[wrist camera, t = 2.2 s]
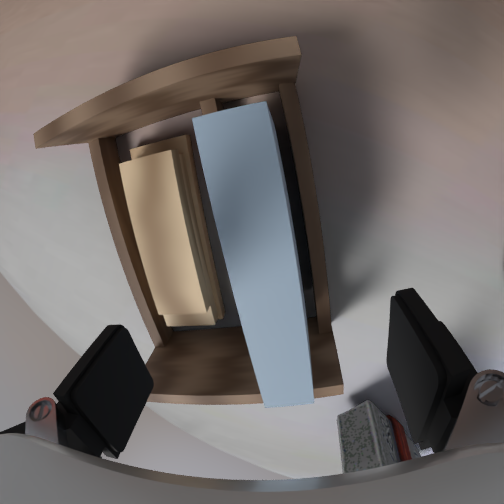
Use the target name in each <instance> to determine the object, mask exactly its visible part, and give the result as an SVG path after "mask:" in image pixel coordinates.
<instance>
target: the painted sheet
mask: <svg viewBox="0 0 504 504" xmlns="http://www.w3.org/2000/svg"><path fill="white" fill-rule="evenodd" d="M192 121H193V126H194V131H195V135H196V140H197V145H198V149H199V154H200V158H201V163H202V167H203V172H204V176H205V180H206V185H207V189H208V193H209V198H210V202H211V206H212V210H213V214H214V219H215V223H216V227H217V231H218V235H219V239H220V243H221V247H222V251H223V255H224V259H225V263H226V267H227V271H228V275H229V279H230V283H231V287H232V291H233V294H234V298H235V302H236V306H237V310H238V313H239V317H240V321H241V325H242V328H243V332H244V336H245V339H246V343H247V347H248V350H249V354H250V357H251V361H252V365H253V368H254V372H255V375H256V379H257V382H258V386H259V389H260V393H261V396H262V399H263V403H264V406H265V408H270V407H283V406H294V405H303V404H312V403H314V392H313V379H312V367H311V356H310V346H309V336H308V326H307V317H306V308H305V299H304V291H303V284H302V277H301V270H300V263H299V257H298V250H297V244H296V238H295V232H294V226H293V220H292V214H291V208H290V202H289V197H288V191H287V186H286V180H285V175H284V170H283V164H282V159H281V154H280V149H279V144H278V139H277V134H276V129H275V125H274V122H273V119H272V116H271V114H270V111H269V108H268V105H267V102H266V101H264V102H259V103H254V104H249V105H244V106H240V107H235V108H231V109H226V110H222V111H218V112H214V113H210V114H206V115H203V116H199V117H195V118H192Z"/></svg>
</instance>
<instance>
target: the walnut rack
mask: <svg viewBox="0 0 504 504" xmlns="http://www.w3.org/2000/svg"><path fill="white" fill-rule="evenodd" d="M300 59H301V51H300V47H299V44H298V40H297V37H296V36H292V37H285V38H278V39H272V40H266V41H260V42H255V43H250V44H245V45H240V46H236V47H231V48H227V49H223V50H219V51H215V52H212V53H208V54H204V55H201V56H198V57H194V58H191V59H188V60H185V61H181V62H178V63H175V64H173V65H170V66H167V67H164V68H161V69H159V70H156V71H153V72H151V73H148V74H146V75H143V76H141V77H138V78H136V79H133V80H131V81H129V82H126V83H124V84H122V85H120V86H118V87H115V88H113V89H111V90H109V91H107V92H105V93H103V94H101V95H99V96H97V97H95V98H93V99H91V100H89V101H87V102H85V103H83V104H82V105H80V106H78V107H76V108H74V109H73V110H71V111H69V112H67V113H66V114H64V115H62V116H61V117H59V118H57V119H56V120H54V121H52V122H51V123H49V124H48V125H46V126H44V127H43V128H41V129H40V130H38V131H37V132H35V133H34V141H35V147H36V149H37V148H44V147H52V146H60V145H69V144H80V143H89V148H90V153H91V158H92V162H93V167H94V171H95V175H96V179H97V184H98V188H99V191H100V195H101V199H102V203H103V206H104V210H105V214H106V217H107V220H108V224H109V227H110V230H111V234H112V237H113V240H114V243H115V246H116V249H117V252H118V255H119V258H120V261H121V264H122V267H123V270H124V272H125V275H126V278H127V281H128V283H129V286H130V289H131V291H132V294H133V296H134V299H135V301H136V304H137V306H138V309H139V311H140V314H141V316H142V318H143V321H144V323H145V325H146V328H147V330H148V332H149V335H150V337H151V339H152V341H153V343H154V346H155V349H154V351H153V352H152V354H151V356H150V358H149V359H148V361H147V363H146V367H147V369H148V371H149V373H150V375H151V377H152V378H153V381H154V387H153V389H152V391H151V393H150V396H149V398H148V400H147V402H159V403H174V404H203V405H228V404H257V403H263V399H262V396H261V393H260V389H259V386H258V382H257V379H256V375H255V372H254V368H253V365H252V361H251V357H250V354H249V350H248V347H247V343H246V339H245V336H244V332H243V328H242V326H237V327H227V328H215V329H203V330H189V331H173V329H172V327H171V326H167V325H166V322H165V319H164V316H163V315H159V314H158V311H157V308H156V305H155V302H154V299H153V296H152V293H151V290H150V287H149V283H148V280H147V277H146V273H145V270H144V267H143V263H142V260H141V256H140V253H139V249H138V246H137V242H136V238H135V234H134V230H133V226H132V222H131V218H130V214H129V210H128V206H127V201H126V197H125V192H124V187H123V183H122V178H121V173H120V167H119V164H120V159H119V154H118V150H117V145H116V140H115V138H116V137H118V136H121V135H123V134H126V133H128V132H131V131H133V130H136V129H139V128H142V127H144V126H147V125H150V124H153V123H156V122H159V121H162V120H165V119H168V118H171V117H174V116H177V115H181V114H184V113H187V112H191V111H194V110H198V109H201V110H202V115H206V114H210V113H214V112H218V111H222V110H224V109H223V104H222V103H225V102H229V101H233V100H238V99H242V98H247V97H252V96H257V95H262V94H267V93H273V92H279V93H280V97H281V102H282V106H283V111H284V115H285V120H286V125H287V130H288V135H289V139H290V145H291V150H292V155H293V160H294V165H295V171H296V176H297V182H298V188H299V194H300V200H301V206H302V212H303V218H304V224H305V231H306V238H307V244H308V251H309V259H310V266H311V274H312V281H313V289H314V298H315V306H316V316H317V317H311V318H307V326H308V336H309V346H310V356H311V367H312V379H313V392H314V398H321V397H328V396H334V395H341V394H343V386H344V384H343V379H342V374H341V369H340V364H339V359H338V354H337V349H336V345H335V340H334V335H333V331H332V326H331V315H330V303H329V292H328V281H327V272H326V263H325V254H324V246H323V238H322V230H321V222H320V215H319V208H318V202H317V195H316V189H315V183H314V177H313V171H312V165H311V159H310V154H309V148H308V143H307V138H306V133H305V128H304V123H303V118H302V113H301V109H300V104H299V100H298V95H297V91H296V86H295V83H296V78H297V73H298V69H299V64H300Z"/></svg>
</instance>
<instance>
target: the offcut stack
mask: <svg viewBox="0 0 504 504" xmlns="http://www.w3.org/2000/svg"><path fill="white" fill-rule="evenodd" d="M130 153H131V159H132V160H130V161H127V162H123V163H120V164H119V167H120V173H121V178H122V183H123V187H124V192H125V197H126V201H127V206H128V210H129V214H130V218H131V222H132V226H133V230H134V234H135V238H136V242H137V246H138V249H139V253H140V256H141V260H142V263H143V267H144V270H145V273H146V277H147V280H148V283H149V287H150V290H151V293H152V296H153V299H154V302H155V305H156V308H157V311H158V314H159V315H163V316H164V319H165V322H166V325H167V326H200V325H215V324H216V322H217V319H223V318H224V315H225V309H224V304H223V300H222V296H221V291H220V287H219V282H218V278H217V273H216V269H215V264H214V259H213V255H212V250H211V245H210V240H209V235H208V231H207V226H206V221H205V216H204V210H203V205H202V200H201V195H200V190H199V184H198V179H197V173H196V168H195V162H194V157H193V151H192V145H191V139H190V135H182V136H178V137H174V138H170V139H166V140H162V141H158V142H155V143H151V144H147V145H144V146H140V147H137V148H134V149H130Z"/></svg>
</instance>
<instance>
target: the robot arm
mask: <svg viewBox="0 0 504 504" xmlns="http://www.w3.org/2000/svg"><path fill="white" fill-rule="evenodd" d="M387 367H388V370H389V372H390V375H391V378H392V380H393V383H394V386H395V388H396V391H397V394H398V397H399V400H400V403H401V406H402V408H403V411H404V414H405V417H406V420H407V424H408V427H409V430H410V433H411V436H412V439H413V442H414V443H418V442H419V445H420V448H421V450H423V449H427V448H429V447H432V450H433V452H434V454H430V455H426V456H423V457H419V458H415V459H411V460H407V461H403V462H399V463H395V464H391V465H387V466H382V467H378V468H373V469H368V470H362V471H357V472H351V473H344V474H338V475H330V476H323V477H313V478H302V479H287V480H227V479H212V478H201V477H192V476H184V475H176V474H169V473H164V472H158V471H153V470H147V469H142V468H138V467H133V466H129V465H125V464H121V463H117V462H113V461H109V460H106V459H102V457H101V454H102V452H103V453H104V454H105V455H106V456H108V457H112V458H115V459H118V457H119V454H120V452H122V451H123V450H124V449H125V447H126V444H127V442H128V440H129V438H130V436H131V434H132V431H133V429H134V427H135V425H136V423H137V421H138V419H139V417H140V414H141V412H142V410H143V408H144V406H145V404H146V402H147V400H148V398H149V396H150V393H151V391H152V389H153V387H154V381H153V378H152V377H151V375H150V373H149V371H148V369H147V367H146V365H145V363H144V361H143V360H142V358H141V356H140V354H139V352H138V350H137V348H136V346H135V344H134V342H133V339H132V337H131V335H130V333H129V331H128V330H127V329H126V328H125V327H124V326H123V325H108V326H107V327H106V328H105V329H104V330H103V331H102V333H101V334H100V335H99V336H98V337H97V339H96V340H95V341H94V342H93V343H92V345H91V346H90V347H89V348H88V349H87V351H86V352H85V353H84V354H83V356H82V357H81V358H80V359H79V361H78V362H77V363H76V364H75V366H74V367H73V368H72V370H71V371H70V372H69V373H68V375H67V376H66V377H65V379H64V380H63V381H62V383H61V384H60V385H59V386H58V388H57V389H56V390H55V392H54V393H53V394H54V396H55V397H56V398H57V399H58V401H59V402H58V403H57V404H56V403H55V401H54V400H53V399H51V398H49V397H44V398H40V399H39V400H37V401H35V402H34V403H33V404H32V405H31V406H30V407H29V409H28V411H27V413H26V422H24V423H21V424H19V425H16V426H14V427H12V428H9V429H7V430H4V431H2V432H0V504H504V373H503V372H501V371H498V370H490V369H489V370H484V371H482V372H480V373H477V371H476V370H475V368H474V367H473V365H472V364H471V362H470V361H469V359H468V358H467V356H466V355H465V353H464V352H463V350H462V349H461V347H460V346H459V344H458V343H457V341H456V340H455V339H454V337H453V336H452V334H451V333H450V332H449V330H448V329H447V327H446V326H445V325H444V324H443V323H442V322H441V321H438V320H437V318H436V317H435V316H434V314H433V313H432V312H431V310H430V309H429V308H428V306H427V305H426V304H425V302H424V301H423V300H422V298H421V297H420V296H419V295H418V293H417V292H416V291H415V289H413V288H409V289H404V290H399V291H397V292H396V294H395V296H392V297H391V301H390V322H389V337H388V348H387Z"/></svg>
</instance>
